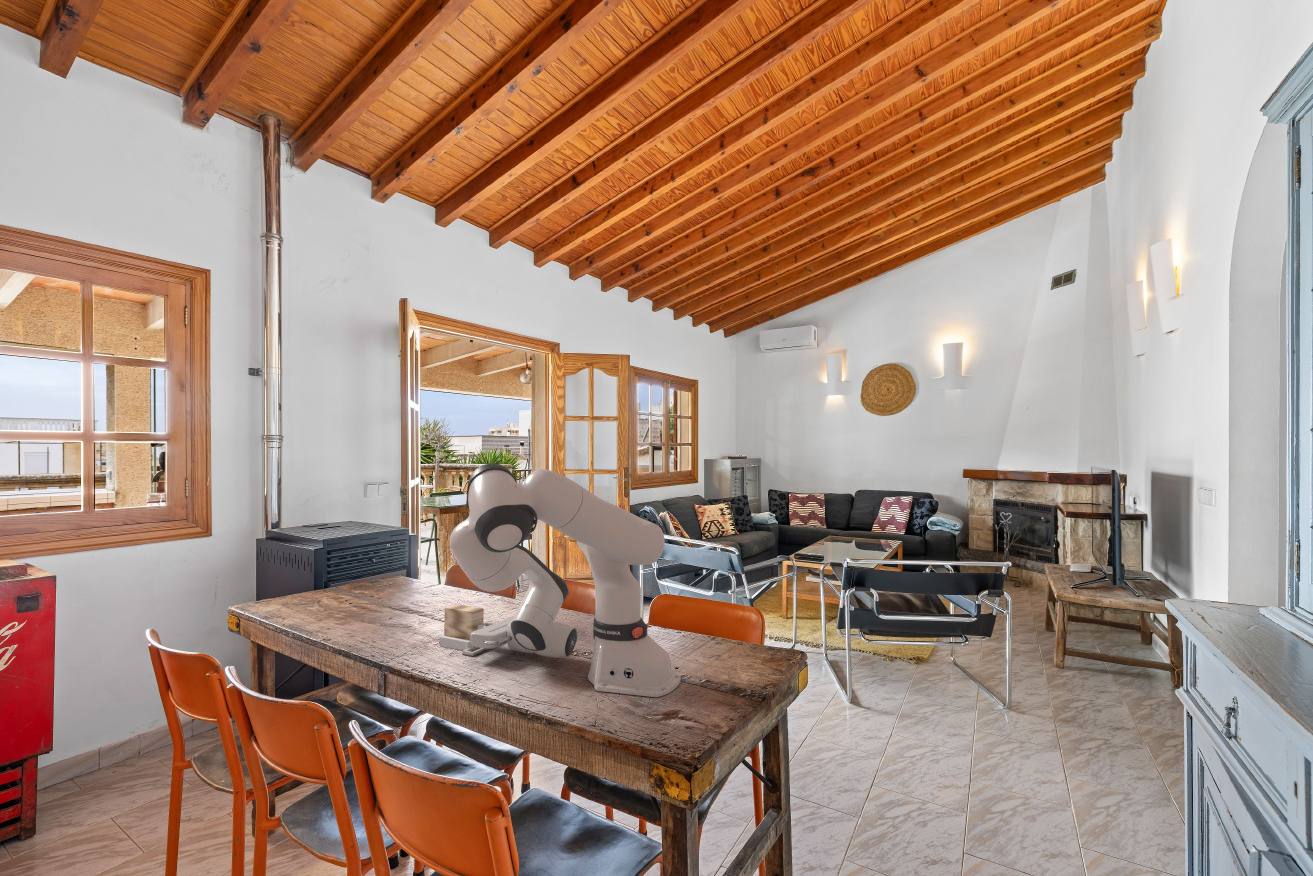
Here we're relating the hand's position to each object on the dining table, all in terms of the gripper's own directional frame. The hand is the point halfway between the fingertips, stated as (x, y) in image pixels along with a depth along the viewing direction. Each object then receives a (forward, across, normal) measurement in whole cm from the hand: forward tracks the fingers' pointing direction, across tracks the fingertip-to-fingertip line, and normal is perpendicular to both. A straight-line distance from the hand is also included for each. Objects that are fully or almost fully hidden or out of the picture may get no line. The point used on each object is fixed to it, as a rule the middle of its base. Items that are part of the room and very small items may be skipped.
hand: (481, 626), depth 164 cm
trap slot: (-1, 0, -6) cm, 6 cm away
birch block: (+6, 0, -6) cm, 9 cm away
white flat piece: (+6, 0, -6) cm, 8 cm away
